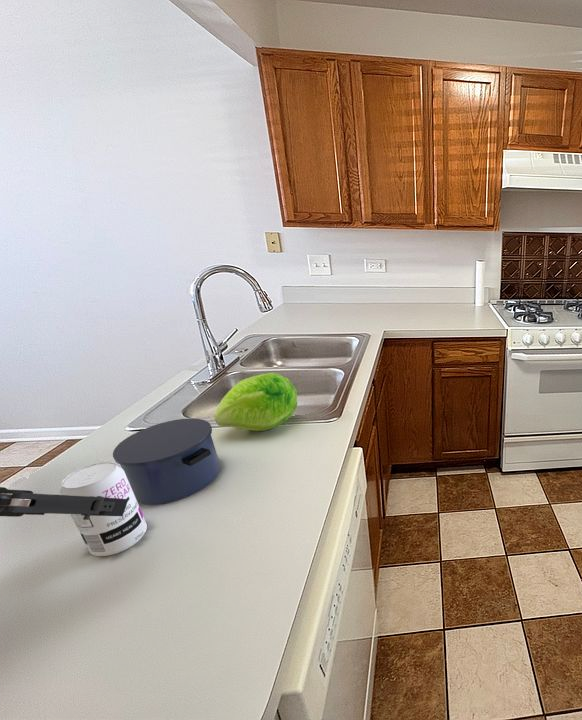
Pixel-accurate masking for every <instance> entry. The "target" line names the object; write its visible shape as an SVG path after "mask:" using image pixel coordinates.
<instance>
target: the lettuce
mask: <svg viewBox="0 0 582 720" xmlns="http://www.w3.org/2000/svg"><path fill="white" fill-rule="evenodd" d="M297 407H298V390H297V389H296V387H295V386H294V385H293V383H292V382H291V381H290V379H289V378H287V377H285V376H283V375H282V374H280V373H278V372H263V373H259V374H256V375H252V376H248V377H246V378H243V379H241V380H239V381H238V382H236V384H234V385H233V386H232V387H231V389H229V390H228V391H227V392H226V394H225V395H224V396H223V397H222V399H221V400H220V402H219V403H218V405H217V406H216V408H215V410H214V413H213V418H214V421H215V424H216V425H217V426H219V427H229V428H234V429H239V430H246V431H257V432H261V431H269V430H272V429H274V428H276V427H278V426H280V425H282V424H285V422H286V421H288V420H289V419H290V418H291V417H292V416H293V415H294V413H295V411H296V409H297Z"/></svg>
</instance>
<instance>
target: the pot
mask: <svg viewBox="0 0 582 720" xmlns="http://www.w3.org/2000/svg"><path fill="white" fill-rule="evenodd" d="M212 432H213V428H212V425H211V423H210V422H209V421H208V420H205V419H203V418H195V417H193V418H192V417H191V418H179V419H174V420H168V421H165V422H160V423H157V424H154V425H151V426H148V427H146V428H143V429H140V430H139V431H137V432H134V433H133V434H130V435H129V436H127V437H126V438H124V439H123V440H122V441H120V442H119V443H118V444H117V445H116V446H115V448H114V449H113V451H112V458H113V460H114V463H116V464H118V465H119V466H120V467H121V468H122V469H123V470H124V472H125V474H126V477H127V479H128V481H129V484H130V486H131V488H132V491H133V493H134V495H135V498H136V500H137V503H139V504H142V505H148V506H150V505H151V506H152V505H153V506H156V505H164V504H168V503H174V502H175V501H176V502H177V501H179V500H182V499H185V498H188V497H190V496H192V495H194V494H196V493H198V492H199V491H201V490H203V489H204V488H206V487H207V486H209V485H210V484H211V483H213V481H214V480H215V479H217V477H218V476H219V474H220V472H221V469H222V467H221V462H220V460H219V455H218V453H217V450H216V446H215V443H214V439H213V437H212Z"/></svg>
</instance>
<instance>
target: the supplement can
mask: <svg viewBox="0 0 582 720" xmlns="http://www.w3.org/2000/svg"><path fill="white" fill-rule="evenodd" d="M60 485H61V487H60V490H59V495H71V496H89V497H90V496H94V497H97V496H102V497H105V498H119V499H128V502H127V505H126V508H125V511H124V514H123V516H90V518H89V520H83V518H84V515H81V514H70V516H71V519H72V521H73V523H74V524H75V526H76V528H77V530H78V532H79V534H80V536H81V538H82V540H83V542H84V544H85V545H86V547H87V549H88V551H89V553H90V555H93V556H95V557H107V556H108V557H109V556H112V555H116V554H119V553H121V552H124V551H126V550H128V549H129V548H131V547H132V546H134V545H135V544H137V543H138V542H139V541H140V540H141V539H142V537H143V536H144V535H145V533H146V531H147V528H148V524H147V522H146V519H145V517H144V514H143V511H142V510H141V507H140V505H139V502H138V501H137V500H136V498H135V495H134V493H133V491H132V488H131V486H130V484H129V481H128V479H127V477H126V474H125V472H124V470H123V469H122V468H121V466H120V465H117V463H116V462H112V461H101V462H95V463H91V464H89V465H86V466H83V467H80V468H79V469H76V470H74V471H73V472H70V473H69V474H68V475H67V476H66V477H64V478H63V479H62V481H61V483H60Z"/></svg>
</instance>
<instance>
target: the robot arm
mask: <svg viewBox="0 0 582 720" xmlns="http://www.w3.org/2000/svg"><path fill="white" fill-rule="evenodd" d="M127 502H128V499H119V498H105V497H102V496H97V497H94V496H90V497H89V496H71V495H60V494H50V493H35V492H33V491H32V490H25V489H8V488H6V487H3V486H0V517H11V518H12V517H15V518H17V517H18V518H19V517H22V516H24V515H26V516H27V515H30V516H37V515H38V516H44V515H45V514H50V515H51V514H53V515H54V514H55V515H56V514H57V515H71V514H81V515H84V518H83V520H89V518H90V516H123V514H124V511H125V508H126V505H127Z"/></svg>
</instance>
